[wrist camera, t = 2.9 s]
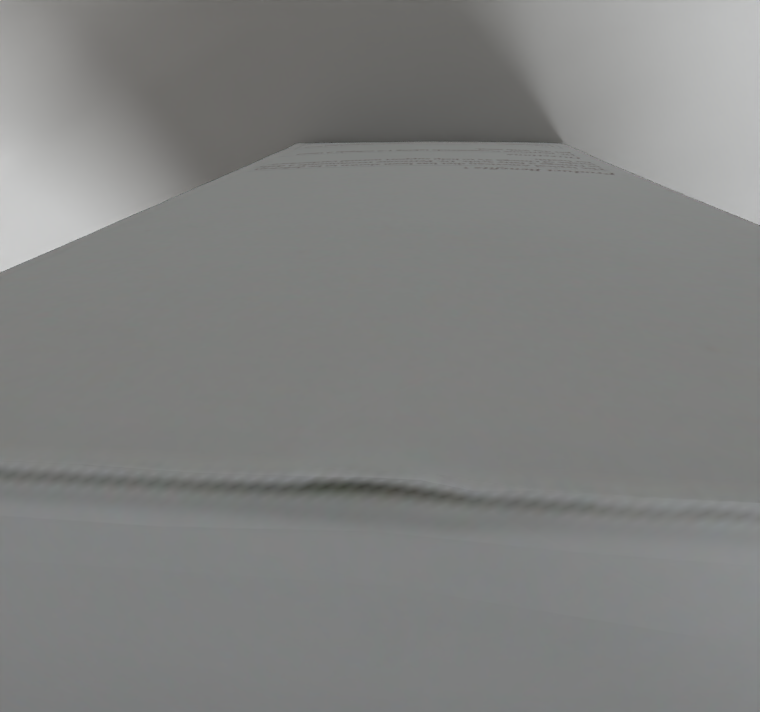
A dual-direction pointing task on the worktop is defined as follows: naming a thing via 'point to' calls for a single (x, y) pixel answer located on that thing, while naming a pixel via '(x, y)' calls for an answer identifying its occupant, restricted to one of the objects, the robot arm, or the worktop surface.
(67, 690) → the supplement box
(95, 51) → the worktop surface
